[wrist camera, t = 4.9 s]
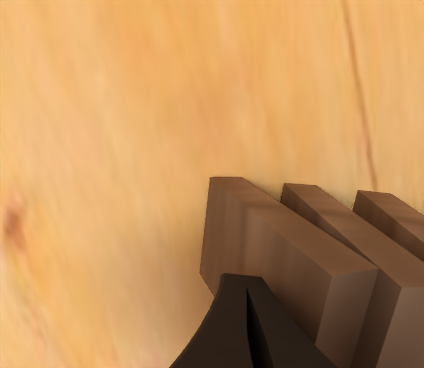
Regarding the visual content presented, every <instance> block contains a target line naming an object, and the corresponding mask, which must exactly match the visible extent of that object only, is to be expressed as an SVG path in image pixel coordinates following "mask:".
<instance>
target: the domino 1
mask: <svg viewBox="0 0 424 368" xmlns="http://www.w3.org/2000/svg"><path fill="white" fill-rule="evenodd" d="M378 271H379V267H377V266H376V265H374V264H373V263H371V262H369V261H368V260H366V259H365V258H363V257H362V256H360V255H359V254H357V253H356V252H354V251H353V250H351V249H350V248H348V247H347V246H345V245H344V244H342V243H341V242H339V241H338V240H336V239H335V238H333V237H331V236H330V235H328V234H327V233H325V232H324V231H322V230H321V229H319V228H318V227H316V226H315V225H313V224H312V223H310V222H309V221H307V220H306V219H304V218H303V217H301V216H300V215H298V214H297V213H295V212H293V211H292V210H290V209H289V208H287V207H286V206H284V205H283V204H281V203H280V202H278V201H277V200H275V199H274V198H272V197H271V196H269V195H268V194H266V193H265V192H263V191H262V190H260V189H259V188H257V187H255V186H254V185H252V184H251V183H249V182H248V181H246V180H245V179H243V178H242V177H212V178H210V183H209V192H208V201H207V210H206V219H205V228H204V237H203V246H202V255H201V264H200V274H201V276H202V278H203V279H204V281H205V282H206V284H207V285H208V287H209V289H210V290H211V292H212V293H213V295H214V297H215V296H216V293H217V291H218V288H219V283H220V275H222V274H223V273H231V274H240V275H250V276H259V277H262V278H263V279H264V281H265V282H266V284H267V285H268V286H269V288H270V289H271V291H272V292H273V294H274V295H275V296H276V298H277V299H278V301H279V302H280V303H281V305H282V306H283V307H284V309H285V310H286V311H287V313H288V314H289V315H290V316H291V318H292V319H293V320H294V322H295V323H296V324H297V325H298V327H299V328H300V329H301V330H302V331H303V332H304V333H305V335H306V336H307V337H308V338H309V339H310V340H311V341H312V342H313V344H314V345H315V346H316V347H317V348H318V349H319V350H320V351H321V352H322V353H323V354H324V355H325V356H326V357H327V358H328V359H329V360H330V361H332V362H333V363H334V364H335V365H336V366H337V367H338V368H350V365H351V362H352V358H353V355H354V352H355V348H356V345H357V342H358V338H359V335H360V331H361V328H362V325H363V321H364V318H365V315H366V311H367V308H368V305H369V301H370V298H371V294H372V291H373V288H374V284H375V281H376V278H377V274H378Z"/></svg>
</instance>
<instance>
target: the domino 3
mask: <svg viewBox="0 0 424 368" xmlns="http://www.w3.org/2000/svg"><path fill="white" fill-rule="evenodd" d="M353 212H354V213H355V214H357V215H358V216H360V217H361V218H362V219H364V220H365V221H367V222H368V223H369V224H371V225H372V226H374V227H375V228H376V229H378V230H379V231H381V232H382V233H383V234H385V235H386V236H388V237H389V238H390V239H392V240H393V241H395V242H396V243H397V244H399V245H400V246H401V247H403V248H404V249H406V250H407V251H408V252H410V253H411V254H413V255H414V256H415V257H417V258H418V259H420V260H421V261H422V262H424V215H422V214H421V213H419V212H418V211H416V210H415V209H413V208H412V207H410V206H409V205H407V204H406V203H404V202H403V201H401V200H400V199H398V198H397V197H395V196H394V195H392V194H389V193H380V192H371V191H361V190H358V192H357V196H356V200H355V204H354V208H353Z"/></svg>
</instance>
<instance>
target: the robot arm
mask: <svg viewBox="0 0 424 368" xmlns="http://www.w3.org/2000/svg"><path fill="white" fill-rule="evenodd" d="M169 368H338V367H337V366H336V365H335V364H334V363H333V362H332V361H330V360H329V359H328V358H327V357H326V356H325V355H324V354H323V353H322V352H321V351H320V350H319V349H318V348H317V347H316V346H315V345H314V344H313V342H312V341H311V340H310V339H309V338H308V337H307V336H306V335H305V333H304V332H303V331H302V330H301V329H300V328H299V327H298V325H297V324H296V323H295V322H294V320H293V319H292V318H291V316H290V315H289V314H288V313H287V311H286V310H285V309H284V307H283V306H282V305H281V303H280V302H279V301H278V299H277V298H276V296H275V295H274V294H273V292H272V291H271V289H270V288H269V286H268V285H267V284H266V282H265V281H264V279H263V278H262V277H259V276H250V275H240V274H231V273H223V274H222V275H220V283H219V288H218V291H217V293H216V296H215V298H214V300H213V303H212V305H211V307H210V309H209V311H208V313H207V315H206V316H205V318H204V320H203V322H202V323H201V325H200V327H199V329H198V330H197V332H196V333H195V335H194V336H193V338H192V339H191V341H190V342H189V343H188V345H187V346H186V347H185V349H184V350H183V351H182V353H181V354H180V355H179V356H178V358H177V359H176V360H175V361H174V362H173V364H172V365H171V366H170V367H169Z"/></svg>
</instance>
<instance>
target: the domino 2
mask: <svg viewBox="0 0 424 368" xmlns="http://www.w3.org/2000/svg"><path fill="white" fill-rule="evenodd" d="M281 204H283V205H284V206H286V207H287V208H289V209H290V210H292V211H293V212H295V213H297V214H298V215H300V216H301V217H303V218H304V219H306V220H307V221H309V222H310V223H312V224H313V225H315V226H316V227H318V228H319V229H321V230H322V231H324V232H325V233H327V234H328V235H330V236H331V237H333V238H335V239H336V240H338V241H339V242H341V243H342V244H344V245H345V246H347V247H348V248H350V249H351V250H353V251H354V252H356V253H357V254H359V255H360V256H362V257H363V258H365V259H366V260H368V261H369V262H371V263H373V264H374V265H376V266H377V267H379V271H378V274H377V278H376V281H375V284H374V288H373V291H372V294H371V298H370V301H369V305H368V308H367V311H366V315H365V318H364V321H363V325H362V328H361V331H360V335H359V338H358V342H357V345H356V348H355V352H354V355H353V358H352V362H351V365H350V368H424V262H422V261H421V260H420V259H418V258H417V257H415V256H414V255H413V254H411V253H410V252H408V251H407V250H406V249H404V248H403V247H401V246H400V245H399V244H397V243H396V242H395V241H393V240H392V239H390V238H389V237H388V236H386V235H385V234H383V233H382V232H381V231H379V230H378V229H376V228H375V227H374V226H372V225H371V224H369V223H368V222H367V221H365V220H364V219H362V218H361V217H360V216H358V215H357V214H355V213H354V212H353V211H351V210H350V209H348V208H347V207H346V206H344V205H343V204H341V203H340V202H339V201H337V200H336V199H334V198H333V197H332V196H330V195H329V194H327V193H326V192H325V191H323V190H322V189H320V188H319V187H318V186H316V185H301V184H284V187H283V193H282V198H281Z"/></svg>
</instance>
